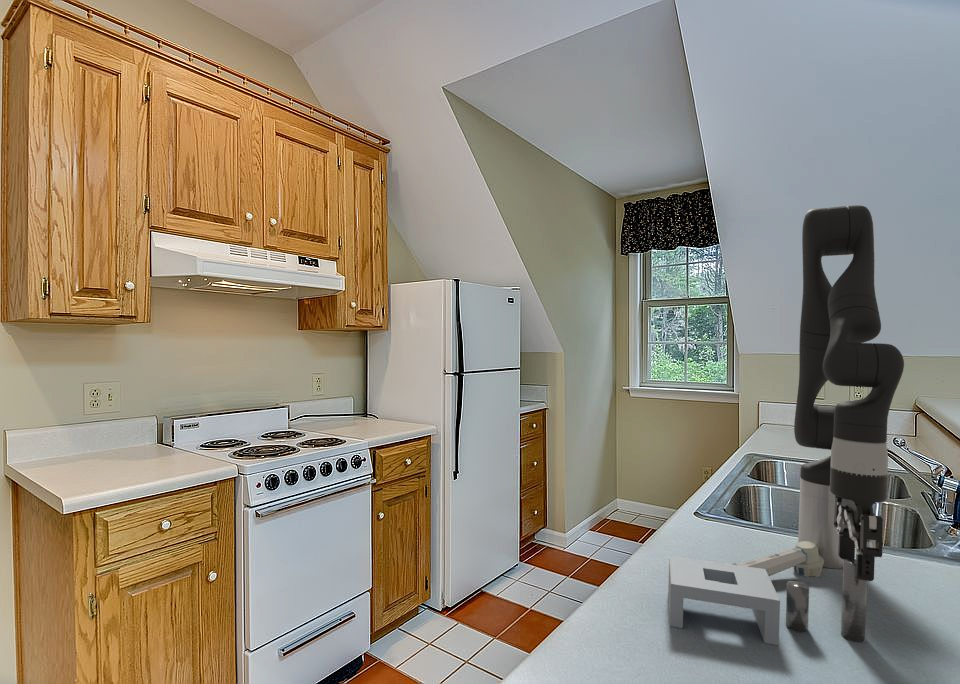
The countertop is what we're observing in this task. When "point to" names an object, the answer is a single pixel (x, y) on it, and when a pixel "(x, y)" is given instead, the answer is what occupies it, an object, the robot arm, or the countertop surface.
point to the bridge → (724, 591)
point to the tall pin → (853, 603)
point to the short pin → (797, 606)
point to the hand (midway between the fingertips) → (854, 568)
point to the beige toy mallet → (791, 561)
